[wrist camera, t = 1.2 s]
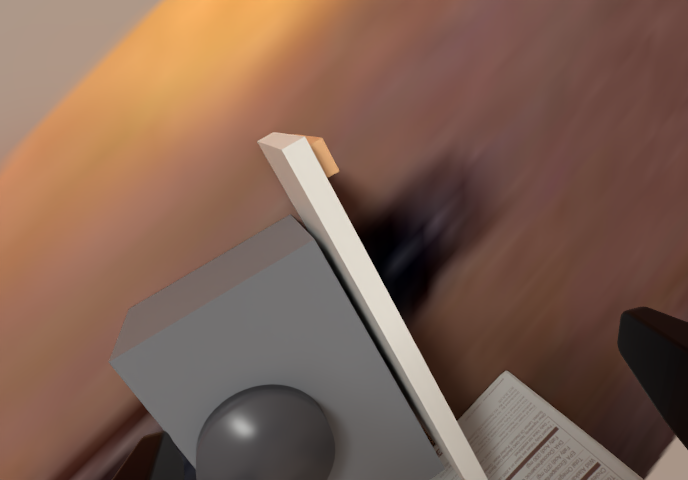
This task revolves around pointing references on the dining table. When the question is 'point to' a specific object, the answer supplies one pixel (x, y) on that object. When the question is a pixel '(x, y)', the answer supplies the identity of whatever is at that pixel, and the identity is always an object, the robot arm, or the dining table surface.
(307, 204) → the side door
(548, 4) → the dining table surface
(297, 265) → the camera case
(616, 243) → the dining table surface
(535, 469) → the supplement box
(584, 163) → the dining table surface
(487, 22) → the dining table surface
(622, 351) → the robot arm
